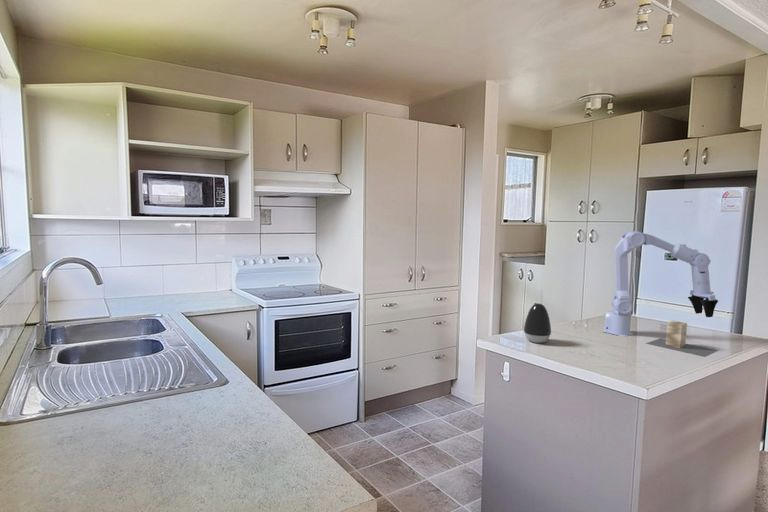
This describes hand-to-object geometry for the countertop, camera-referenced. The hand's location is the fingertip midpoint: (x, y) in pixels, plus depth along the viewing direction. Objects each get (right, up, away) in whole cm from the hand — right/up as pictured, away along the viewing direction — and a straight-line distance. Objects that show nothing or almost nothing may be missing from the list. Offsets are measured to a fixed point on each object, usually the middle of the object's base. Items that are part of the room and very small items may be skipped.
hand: (704, 315), depth 183 cm
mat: (-16, -11, -10) cm, 22 cm away
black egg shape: (-70, -10, -5) cm, 71 cm away
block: (-17, -11, -8) cm, 22 cm away
